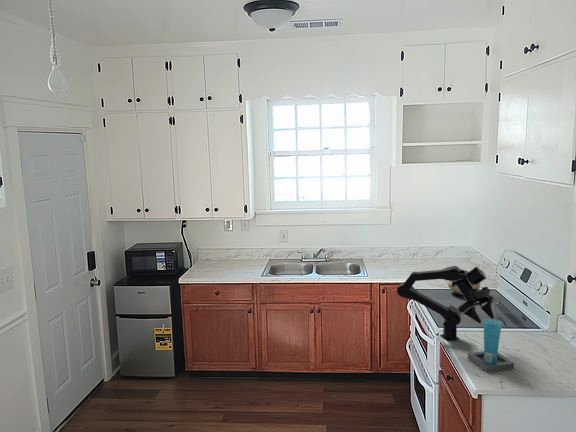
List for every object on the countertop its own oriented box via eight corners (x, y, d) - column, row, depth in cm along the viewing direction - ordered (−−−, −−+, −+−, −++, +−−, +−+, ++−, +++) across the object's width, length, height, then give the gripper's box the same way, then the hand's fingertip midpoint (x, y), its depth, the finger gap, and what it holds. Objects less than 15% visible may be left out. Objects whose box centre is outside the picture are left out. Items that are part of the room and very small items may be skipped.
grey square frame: (467, 358, 209) (467, 353, 209) (493, 355, 212) (494, 349, 212) (486, 372, 197) (486, 366, 196) (513, 368, 200) (514, 363, 199)
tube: (498, 361, 206) (501, 319, 203) (500, 367, 202) (503, 323, 198) (480, 359, 208) (482, 317, 205) (480, 364, 204) (483, 321, 201)
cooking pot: (484, 301, 280) (485, 281, 278) (450, 300, 283) (451, 280, 281) (474, 288, 304) (475, 269, 302) (443, 287, 307) (444, 268, 305)
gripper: (465, 285, 213) (486, 316, 205) (491, 278, 223) (511, 307, 215) (449, 297, 220) (469, 328, 213) (475, 290, 230) (494, 319, 223)
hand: (486, 320), depth 216 cm, fingers open, 9 cm apart
